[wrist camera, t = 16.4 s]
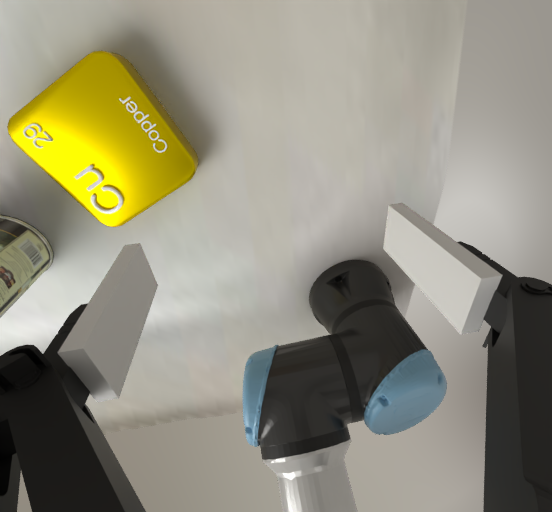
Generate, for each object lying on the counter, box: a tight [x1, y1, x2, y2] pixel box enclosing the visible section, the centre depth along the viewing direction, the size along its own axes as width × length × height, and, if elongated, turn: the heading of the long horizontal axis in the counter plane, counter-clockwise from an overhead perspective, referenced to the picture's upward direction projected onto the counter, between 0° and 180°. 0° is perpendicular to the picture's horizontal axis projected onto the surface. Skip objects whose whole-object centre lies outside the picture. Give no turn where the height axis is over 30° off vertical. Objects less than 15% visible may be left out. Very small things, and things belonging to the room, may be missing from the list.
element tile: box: [7, 51, 198, 227], centre depth 34 cm, size 15×15×5 cm
